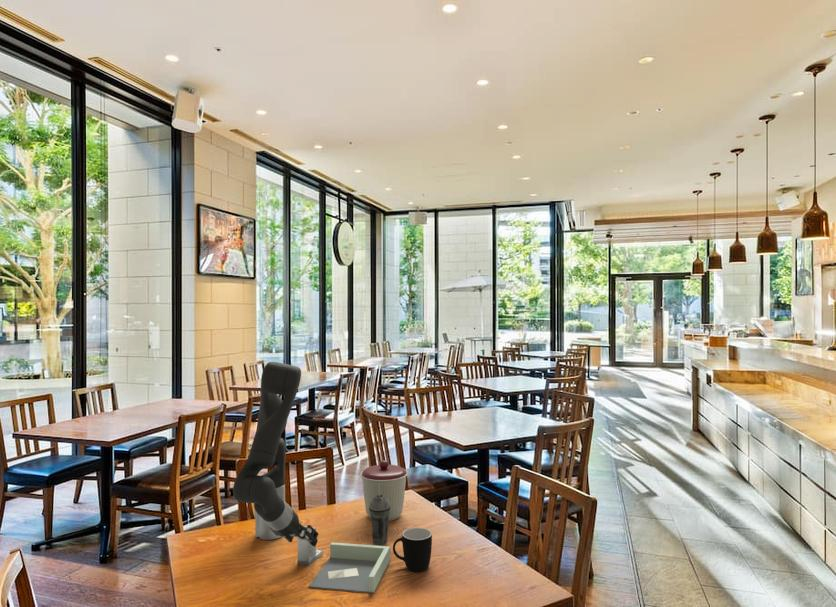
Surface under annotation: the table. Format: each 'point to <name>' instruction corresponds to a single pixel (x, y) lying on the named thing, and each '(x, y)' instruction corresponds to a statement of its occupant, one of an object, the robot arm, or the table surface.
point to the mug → (416, 548)
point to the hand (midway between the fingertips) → (303, 541)
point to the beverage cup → (379, 518)
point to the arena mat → (345, 575)
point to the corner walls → (364, 558)
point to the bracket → (307, 552)
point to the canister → (385, 486)
